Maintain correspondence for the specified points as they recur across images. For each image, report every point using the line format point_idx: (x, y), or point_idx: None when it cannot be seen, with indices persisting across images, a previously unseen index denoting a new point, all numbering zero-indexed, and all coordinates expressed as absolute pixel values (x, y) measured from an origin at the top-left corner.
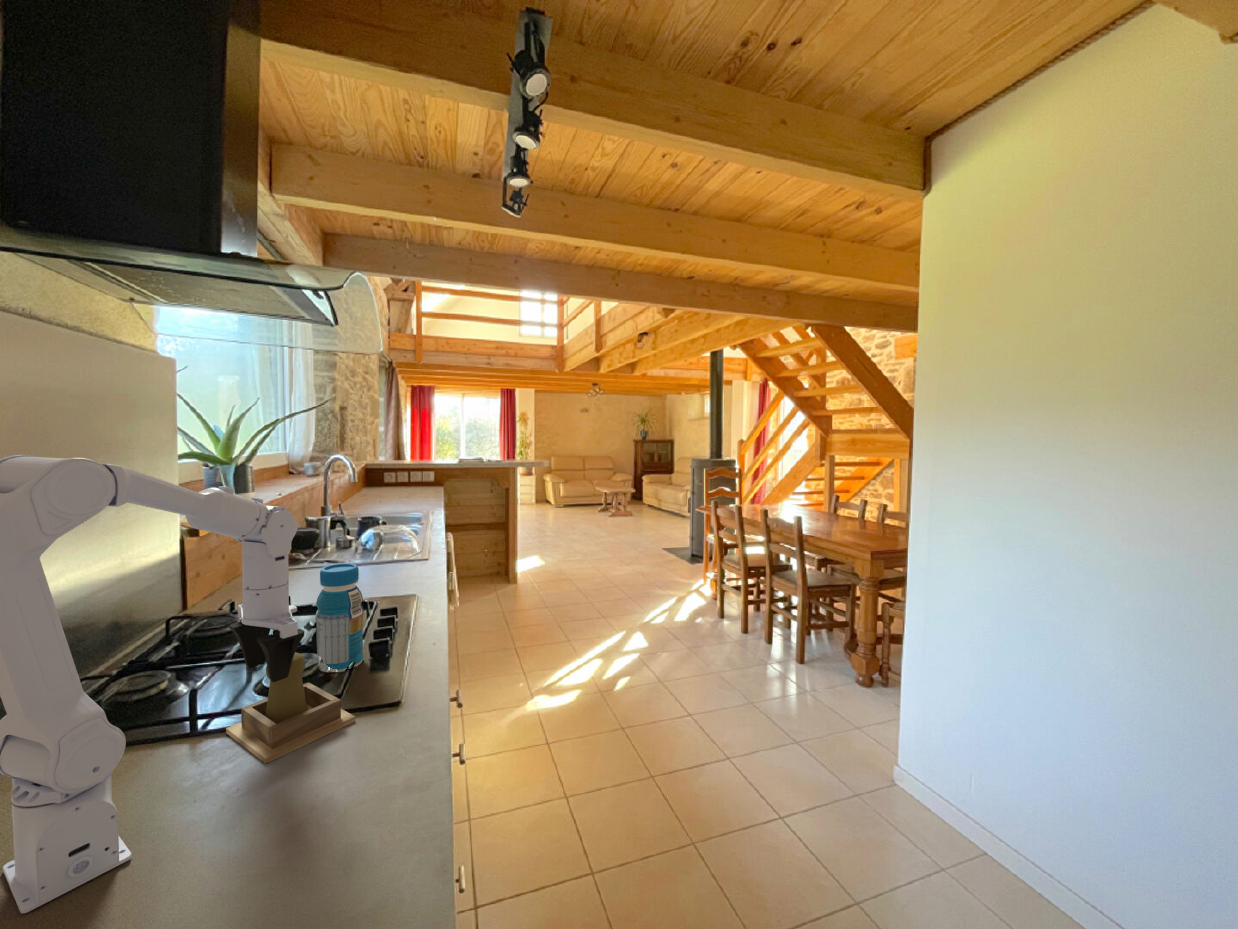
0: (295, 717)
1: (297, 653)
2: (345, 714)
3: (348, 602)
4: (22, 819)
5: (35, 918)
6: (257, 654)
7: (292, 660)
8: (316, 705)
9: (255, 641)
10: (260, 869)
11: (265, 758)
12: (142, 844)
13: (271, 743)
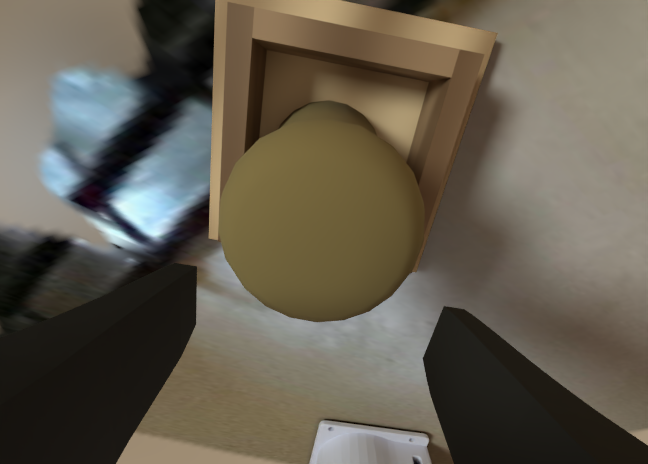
0: None
1: (340, 175)
2: (456, 39)
3: None
4: None
5: None
6: (160, 334)
7: (407, 259)
8: (339, 62)
9: (88, 430)
10: (609, 393)
11: (414, 271)
12: (410, 418)
13: None
